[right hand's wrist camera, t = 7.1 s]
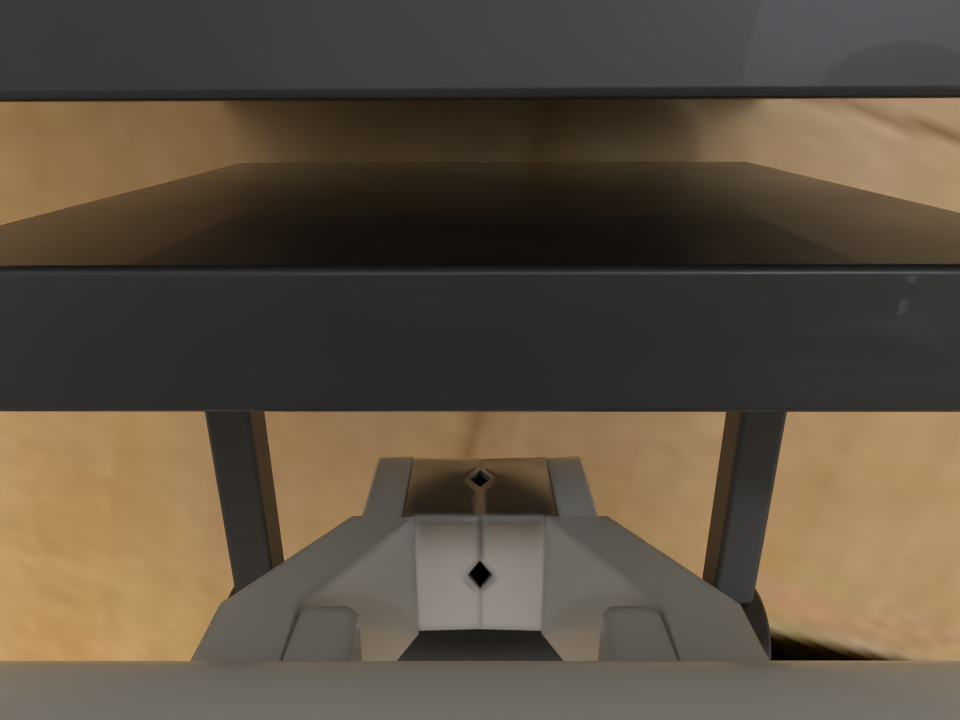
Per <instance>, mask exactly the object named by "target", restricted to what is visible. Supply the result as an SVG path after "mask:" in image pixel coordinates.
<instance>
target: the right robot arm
mask: <svg viewBox="0 0 960 720" xmlns="http://www.w3.org/2000/svg"><path fill="white" fill-rule="evenodd" d="M462 629H497V630H533V631H542V632H541V634H542V635H543V636H544V637H545V638H546V640H547V641H548V642H549V643H550V645H551V646H552V647H553V648H554V649H555V651H556V652H557V653H558V654H559V656H560V657H561V658H562V659H563V661H397V660H398V659H399V657H400V656H401V655H402V654H403V653H404V651H405V650H406V649H407V648H408V646H409V645H410V644H411V643H412V642H413V640H414V639H415V638H416V637H417V635H418V634H419V632H418V631H426V630H462ZM0 720H960V661H769V659H768V657H767V655H766V653H765V651H764V649H763V647H762V646H761V644H760V642H759V640H758V638H757V636H756V634H755V632H754V630H753V628H752V626H751V624H750V622H749V620H748V618H747V617H746V615H745V613H744V611H743V609H742V607H741V605H740V604H739V603H737V602H736V601H734V600H733V599H731V598H730V597H728V596H727V595H725V594H724V593H722V592H721V591H719V590H718V589H716V588H715V587H713V586H712V585H710V584H709V583H707V582H706V581H704V580H703V579H701V578H700V577H698V576H697V575H695V574H694V573H692V572H691V571H689V570H688V569H686V568H685V567H683V566H682V565H680V564H679V563H677V562H676V561H674V560H673V559H671V558H670V557H668V556H666V555H665V554H663V553H662V552H660V551H659V550H657V549H656V548H654V547H653V546H651V545H650V544H648V543H647V542H645V541H644V540H642V539H641V538H639V537H638V536H636V535H635V534H633V533H632V532H630V531H629V530H627V529H626V528H624V527H623V526H621V525H620V524H618V523H617V522H615V521H614V520H612V519H611V518H609V517H603V516H598V514H597V511H596V507H595V504H594V500H593V497H592V493H591V490H590V487H589V483H588V480H587V476H586V473H585V470H584V466H583V463H582V459H581V458H579V457H559V458H546V457H544V458H503V459H468V458H413V457H383V458H380V459H379V460H378V462H377V465H376V469H375V472H374V476H373V479H372V483H371V486H370V490H369V493H368V497H367V500H366V503H365V507H364V510H363V514H362V516H358V517H351V518H349V519H348V520H346V521H345V522H343V523H342V524H340V525H339V526H337V527H336V528H334V529H333V530H331V531H330V532H328V533H327V534H325V535H324V536H322V537H321V538H319V539H317V540H316V541H314V542H313V543H311V544H310V545H308V546H307V547H305V548H304V549H302V550H301V551H299V552H298V553H296V554H295V555H293V556H292V557H290V558H289V559H287V560H286V561H284V562H283V563H281V564H280V565H278V566H277V567H275V568H274V569H272V570H271V571H269V572H267V573H266V574H264V575H263V576H261V577H260V578H258V579H257V580H255V581H254V582H252V583H251V584H249V585H248V586H246V587H245V588H243V589H242V590H240V591H239V592H237V593H236V594H234V595H233V596H231V597H230V598H228V599H227V600H225V601H224V602H222V603H221V604H220V606H219V608H218V610H217V611H216V613H215V615H214V617H213V619H212V621H211V623H210V625H209V627H208V629H207V630H206V632H205V634H204V636H203V638H202V640H201V642H200V644H199V646H198V648H197V650H196V651H195V653H194V655H193V657H192V659H191V661H0Z"/></svg>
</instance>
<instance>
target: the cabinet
mask: <svg viewBox="0 0 960 720" xmlns="http://www.w3.org/2000/svg"><path fill="white" fill-rule="evenodd" d="M858 98H960V0H0V102H128V101H396V100H639V99H858Z"/></svg>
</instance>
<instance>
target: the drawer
mask: <svg viewBox="0 0 960 720" xmlns="http://www.w3.org/2000/svg"><path fill="white" fill-rule="evenodd" d="M0 411H205V415H206V421H207V426H208V432H209V438H210V444H211V450H212V456H213V462H214V468H215V474H216V480H217V485H218V491H219V497H220V503H221V509H222V515H223V521H224V527H225V533H226V539H227V544H228V550H229V556H230V562H231V568H232V574H233V580H234V588H233V589H232V591H231V593H230V595H229V597H228V598H230V597H231V596H233V595H234V594H236V593H237V592H239V591H240V590H242V589H243V588H245V587H246V586H248V585H249V584H251V583H252V582H254V581H255V580H257V579H258V578H260V577H261V576H263V575H264V574H266V573H267V572H269V571H271V570H272V569H274V568H275V567H277V566H278V565H280V564H281V563H283V562H284V557H283V550H282V542H281V535H280V527H279V520H278V512H277V505H276V497H275V490H274V483H273V475H272V468H271V460H270V453H269V445H268V438H267V430H266V423H265V415H264V411H564V412H726V418H725V425H724V432H723V439H722V446H721V453H720V460H719V467H718V474H717V481H716V488H715V495H714V502H713V509H712V516H711V523H710V530H709V537H708V543H707V550H706V557H705V564H704V571H703V580H704V581H706V582H707V583H709V584H710V585H712V586H713V587H715V588H716V589H718V590H719V591H721V592H722V593H724V594H725V595H727V596H728V597H730V598H731V599H733V600H734V601H736V602H737V603H739V604H740V605H741V607H742V609H743V611H744V613H745V615H746V617H747V618H748V620H749V622H750V624H751V626H752V628H753V630H754V632H755V634H756V636H757V638H758V640H759V642H760V644H761V646H762V647H763V649H764V651H765V653H766V655H767V657H768V659H769V661H771V638H770V629H769V624H768V619H767V615H766V612H765V608H764V605H763V603H762V600H761V598H760V596H759V594H758V592H757V590H756V589H755V585H756V580H757V574H758V569H759V563H760V557H761V552H762V546H763V541H764V535H765V530H766V524H767V519H768V513H769V507H770V502H771V496H772V491H773V485H774V480H775V474H776V469H777V463H778V457H779V452H780V446H781V441H782V435H783V430H784V424H785V419H786V413H787V412H960V213H957V212H953V211H949V210H945V209H940V208H936V207H932V206H928V205H924V204H919V203H915V202H911V201H907V200H903V199H898V198H894V197H890V196H886V195H882V194H877V193H873V192H869V191H865V190H861V189H856V188H852V187H848V186H844V185H840V184H835V183H831V182H827V181H823V180H819V179H814V178H810V177H806V176H802V175H798V174H793V173H789V172H785V171H781V170H777V169H772V168H768V167H764V166H760V165H756V164H751V163H747V162H594V163H279V164H237V165H233V166H230V167H226V168H222V169H218V170H214V171H210V172H206V173H202V174H198V175H194V176H191V177H187V178H183V179H179V180H175V181H171V182H167V183H163V184H159V185H156V186H152V187H148V188H144V189H140V190H136V191H132V192H128V193H124V194H121V195H117V196H113V197H109V198H105V199H101V200H97V201H93V202H89V203H86V204H82V205H78V206H74V207H70V208H66V209H62V210H58V211H54V212H51V213H47V214H43V215H39V216H35V217H31V218H27V219H23V220H19V221H15V222H12V223H8V224H4V225H0ZM418 632H419V634H418V635H417V637H416V638H415V639H414V640H413V642H412V643H411V644H410V645H409V646H408V648H407V649H406V650H405V651H404V653H403V654H402V655H401V656H400V657H399V659H398V660H397V661H563V659H562V658H561V657H560V656H559V654H558V653H557V652H556V651H555V649H554V648H553V647H552V646H551V645H550V643H549V642H548V641H547V640H546V638H545V637H544V636H543V635H542V634H541V632H542V631H533V630H497V629H462V630H426V631H418Z"/></svg>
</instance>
